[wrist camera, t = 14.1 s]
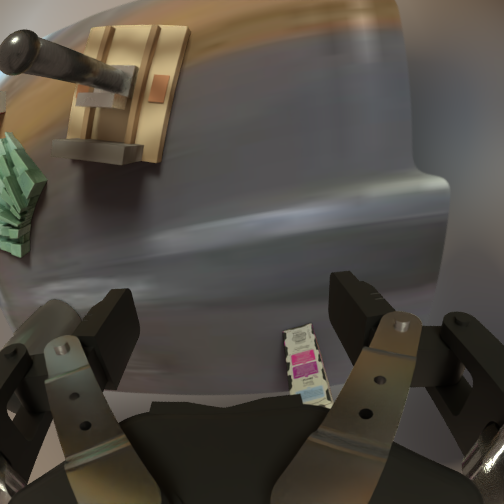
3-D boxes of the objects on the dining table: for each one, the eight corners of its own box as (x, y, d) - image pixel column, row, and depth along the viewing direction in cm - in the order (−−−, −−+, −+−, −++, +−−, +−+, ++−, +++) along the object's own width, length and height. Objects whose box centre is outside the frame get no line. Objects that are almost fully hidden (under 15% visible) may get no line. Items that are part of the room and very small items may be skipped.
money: (48, 257, 42) (31, 268, 37) (-10, 237, 40) (-26, 245, 36) (54, 133, 35) (35, 135, 30) (-8, 130, 33) (-26, 132, 29)
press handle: (106, 68, 30) (-9, 30, 10) (140, 68, 30) (34, 16, 10) (97, 108, 32) (-27, 101, 12) (131, 111, 32) (13, 96, 12)
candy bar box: (279, 330, 45) (289, 413, 30) (311, 321, 45) (333, 401, 29) (297, 378, 49) (309, 456, 34) (325, 370, 48) (345, 446, 33)
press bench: (98, 31, 29) (69, 15, 22) (190, 31, 30) (176, 8, 23) (72, 150, 35) (39, 155, 28) (161, 161, 36) (138, 167, 29)
